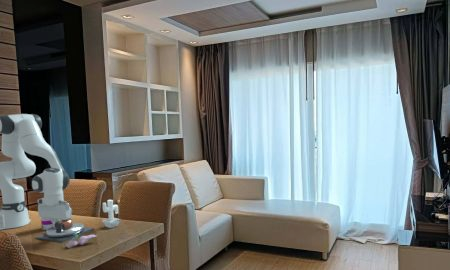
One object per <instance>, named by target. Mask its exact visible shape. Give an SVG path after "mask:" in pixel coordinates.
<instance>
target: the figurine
mask: <svg viewBox="0 0 450 270" xmlns="http://www.w3.org/2000/svg"><path fill="white" fill-rule="evenodd" d="M106 202H107V203H106ZM106 202H102V211H103V213H108V218H107V219H103V220H102V221H101V222H102V224H103V225H104V226H105V227H106V228H109V229H110V228H111V229H112V228H114V227H117V226H119V223H120V222H121V218H117V217H114V214H116V215H117V214H119V205H118V204H114V200H113V199H108V200H107V201H106Z"/></svg>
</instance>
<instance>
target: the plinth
mask: <svg viewBox="0 0 450 270" xmlns="http://www.w3.org/2000/svg"><path fill="white" fill-rule="evenodd" d="M94 230H95V228H94V227H87V226H84V230H83V231H81V232H79V233H77V234H74V235H78V237H81V236H83V235H85V234H87V233H90V232H93V231H94ZM74 235H70V236H64V237H48V236H47V233H46V232H44V233H42V234H39V235H36V236H35V239H36V240H37V239H39V240H43V241H44V240H45V241H46V240H47V241H51V242H52V241H53V242H59V243H64V242H67V241H71V240H72V239H73V238H74V237H75V236H74Z"/></svg>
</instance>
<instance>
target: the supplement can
mask: <svg viewBox="0 0 450 270" xmlns="http://www.w3.org/2000/svg"><path fill="white" fill-rule="evenodd" d="M40 222H41V230H43V231H47V230H48V229H49V228H51V227H53V223H52V221H51V218H45V217H40Z"/></svg>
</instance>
